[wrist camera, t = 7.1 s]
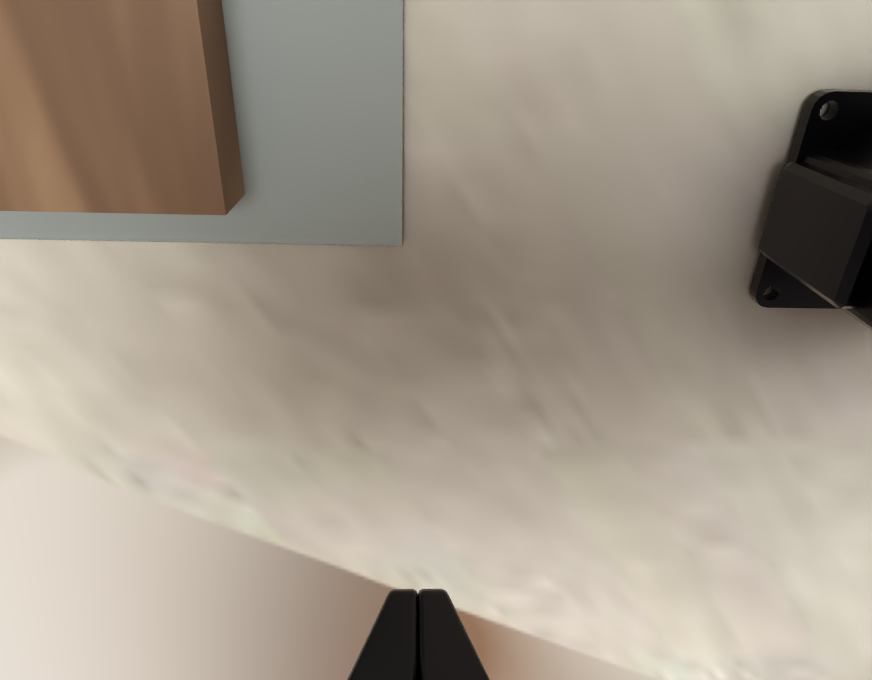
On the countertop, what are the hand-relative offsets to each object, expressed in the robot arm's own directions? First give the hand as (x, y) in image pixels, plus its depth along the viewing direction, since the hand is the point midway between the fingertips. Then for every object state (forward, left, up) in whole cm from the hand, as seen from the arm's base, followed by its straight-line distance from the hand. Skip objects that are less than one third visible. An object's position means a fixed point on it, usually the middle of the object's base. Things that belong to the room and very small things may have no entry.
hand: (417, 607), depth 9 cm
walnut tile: (+5, -6, -11) cm, 13 cm away
